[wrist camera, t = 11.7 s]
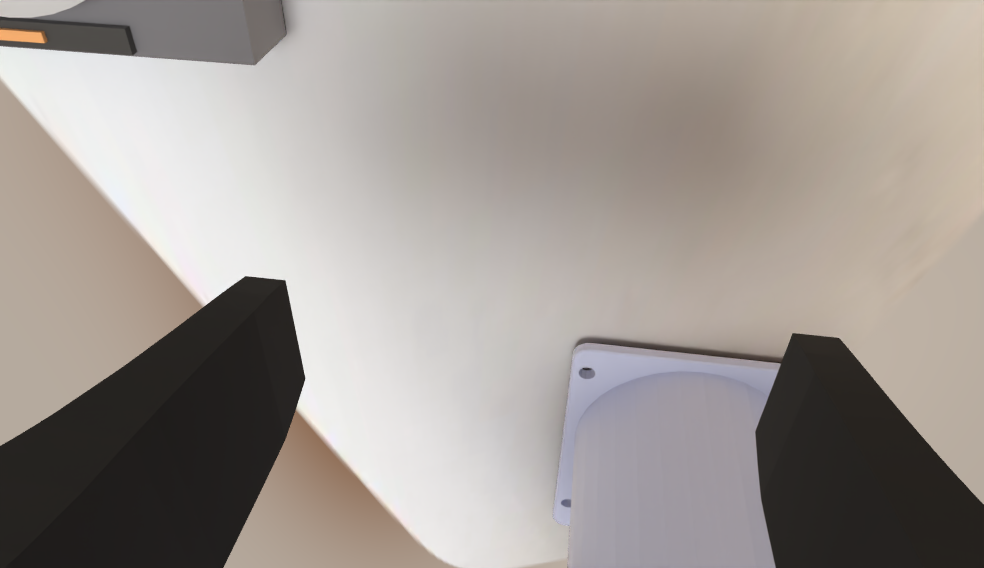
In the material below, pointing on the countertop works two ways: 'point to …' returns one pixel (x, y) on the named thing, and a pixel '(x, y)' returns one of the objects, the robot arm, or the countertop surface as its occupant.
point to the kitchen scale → (147, 27)
